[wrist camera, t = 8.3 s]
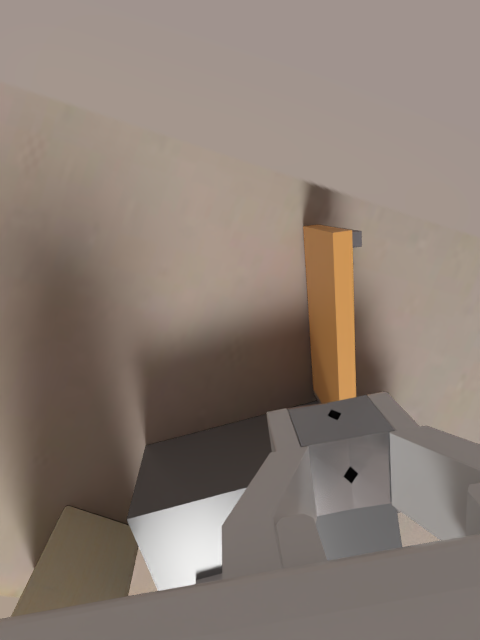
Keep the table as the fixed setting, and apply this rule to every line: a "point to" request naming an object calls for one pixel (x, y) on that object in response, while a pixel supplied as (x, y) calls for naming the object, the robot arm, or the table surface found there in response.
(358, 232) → the door
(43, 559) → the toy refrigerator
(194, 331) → the table surface
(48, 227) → the table surface
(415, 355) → the table surface
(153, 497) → the gray box
